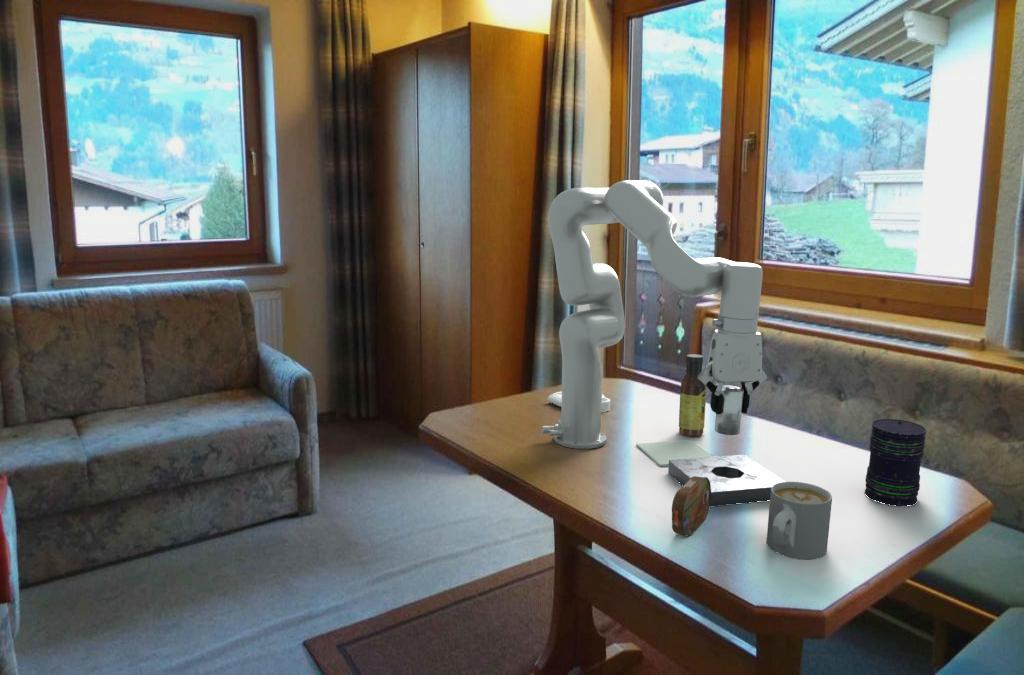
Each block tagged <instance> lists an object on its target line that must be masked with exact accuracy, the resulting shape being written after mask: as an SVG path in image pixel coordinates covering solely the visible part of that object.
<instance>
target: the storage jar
mask: <svg viewBox="0 0 1024 675" xmlns="http://www.w3.org/2000/svg"><path fill="white" fill-rule="evenodd" d="M870 431H871V432H870V437H869V451H870V453H869V461H868V466H867V468H866V474H865V489H864V495H865V494H866V495H867V496H868V497H869V498H871V499H873V500H876V501H879V502H882V503H885V504H890V505H896V506H907V505H913V504H915V503H916V502H917V503H918V495H919V491H920V487H921V486H920V482H921V481H920V480H921V475H920V470H921V464H922V463H921V462H922V459H923V457H924V449H925V445H926V443H925V442H926V441H925V440H926V437H925V436H926V435H927V434H926V433H927V430H926V427H924V426H923V425H921V424H918V423H915V422H912V421H907V420H901V419H892V418H880V419H876V420H873V421H872V423H871V430H870ZM866 495H865V496H866ZM867 496H866V497H867ZM868 497H867V498H868ZM869 498H868V499H869ZM871 499H870V500H871ZM873 500H872V501H873ZM917 503H916V504H917ZM916 504H915V505H916ZM896 506H895V507H896ZM913 506H914V505H913Z"/></svg>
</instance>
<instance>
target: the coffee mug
mask: <svg viewBox="0 0 1024 675" xmlns="http://www.w3.org/2000/svg"><path fill="white" fill-rule="evenodd" d="M832 501H833V495H832V494H831V492H829V490H826V489H825V488H823V487H820V486H818V485H816V484H811V483H807V482H801V481H785V482H781V483H777V484H775V485H773V486H772V488H771V494H770V501H769V507H768V508H769V509H768V518H767V519H768V520H767V531H766V541H767V542H766V545H767V544H768V545H767V547H768V546H769V547H770V548H771V549H770V548H769V547H768V548H769V549H770V550H772V551H773V550H774V551H773V552H775V553H776V552H778V553H780V554H779V555H781V556H783V555H784V557H786V556H787V558H791V559H794V558H795V559H796V560H801V559H802V560H803V561H807V560H809V561H811V560H812V559H813V560H818V559H821V558H823V557H824V556H826V554H827V553H826V552H828V543H829V533H830V524H831V523H830V522H831V512H832V503H833V502H832ZM778 553H777V554H778ZM820 557H821V558H820ZM817 558H818V559H817ZM802 560H801V561H802ZM813 560H812V561H813Z"/></svg>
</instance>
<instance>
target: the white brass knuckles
mask: <svg viewBox="0 0 1024 675" xmlns="http://www.w3.org/2000/svg"><path fill="white" fill-rule="evenodd" d="M547 402H549V403H550V404H552V403H553V404H552V405H556V406H557V407H560V408H562V390H560V391H556V392H554V393H551V394H549V396H547ZM609 410H610V411H611V398H608V397H606V396H605V395H604V394H603V393H602V402H601V412H605V413H608V412H607V411H609ZM610 411H609V412H610Z"/></svg>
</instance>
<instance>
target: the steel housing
mask: <svg viewBox="0 0 1024 675" xmlns="http://www.w3.org/2000/svg"><path fill="white" fill-rule="evenodd" d="M667 474H668V475H669V474H670V475H669V476H671V477H672V478H673V479H674V478H675V479H676V480H677V481H676V480H675V479H674V480H675V481H676V482H677V483H679V482H680V483H681V484H682V485H684V484H685V483H686V482H687V481H688V480H689V479H690V478H691V477H693V476H697V477H707V478H708V479H709V481H710V485H711V502H710V506H714V507H720V506H719V505H724V506H727V505H726V504H735V505H737V504H736V503H746V504H750V503H749V502H757V501H767V500H770V494H771V488H772V486H773V485H775V484H777V483H781V482H786V481H785V480H784V479H782V478H781V477H779V476H778V475H776V474H774V473H773V472H772V471H770V470H769V469H767V468H765V467H764V466H763V465H761V464H759V462H756V461H755V460H753V459H752V458H751V457H749V456H747V455H746V454H734V455H722V456H720V455H719V456H713V457H705V458H691V459H678V460H669V466H668V472H667ZM680 483H679V484H680ZM681 484H680V485H681ZM682 485H681V486H682ZM757 503H758V502H757Z"/></svg>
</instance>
